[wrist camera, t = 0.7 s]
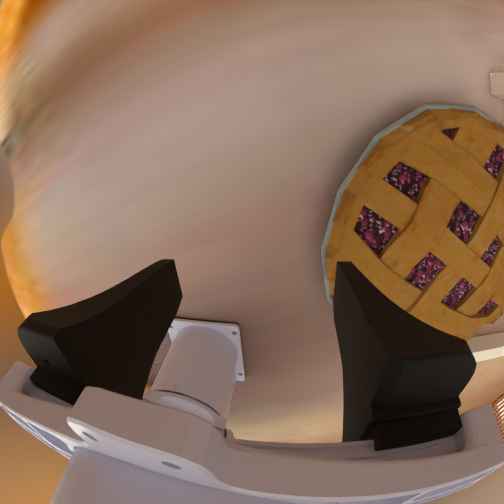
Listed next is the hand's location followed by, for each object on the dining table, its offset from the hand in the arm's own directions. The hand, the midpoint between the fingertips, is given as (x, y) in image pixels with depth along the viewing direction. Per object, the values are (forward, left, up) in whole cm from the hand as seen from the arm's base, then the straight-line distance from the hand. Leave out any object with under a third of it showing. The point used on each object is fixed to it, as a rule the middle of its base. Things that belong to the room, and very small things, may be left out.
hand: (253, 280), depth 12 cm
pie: (-2, -15, -11) cm, 18 cm away
